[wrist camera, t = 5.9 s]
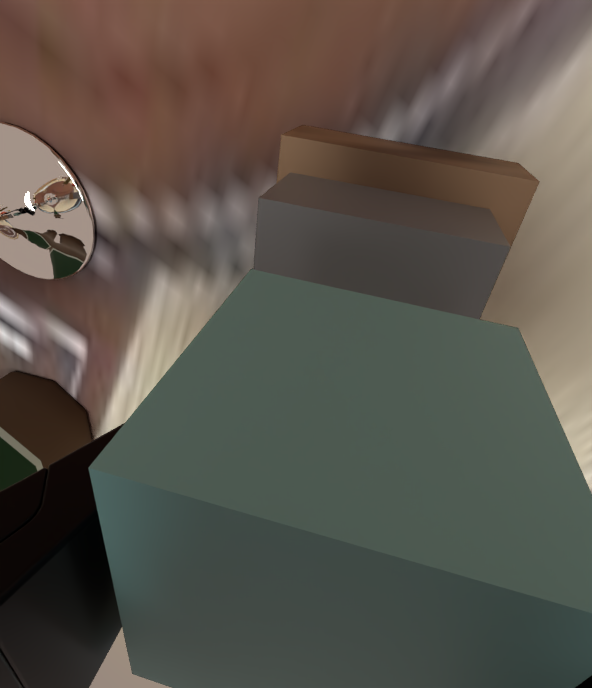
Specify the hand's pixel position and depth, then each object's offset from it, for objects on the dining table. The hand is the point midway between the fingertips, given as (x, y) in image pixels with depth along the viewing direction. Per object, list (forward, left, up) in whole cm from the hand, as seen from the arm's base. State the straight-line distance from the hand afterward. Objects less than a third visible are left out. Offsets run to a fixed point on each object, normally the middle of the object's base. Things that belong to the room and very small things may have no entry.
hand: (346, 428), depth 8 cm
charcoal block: (0, +1, -8) cm, 8 cm away
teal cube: (0, 0, -1) cm, 1 cm away
